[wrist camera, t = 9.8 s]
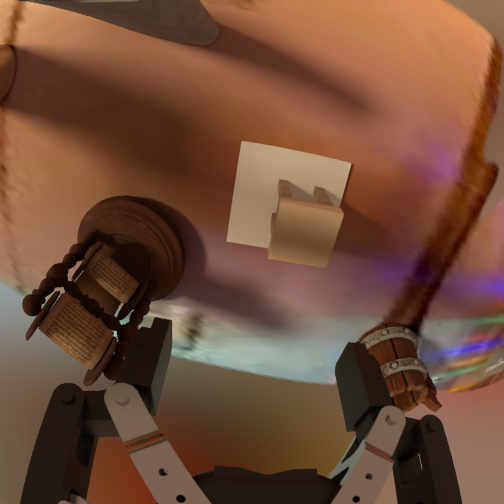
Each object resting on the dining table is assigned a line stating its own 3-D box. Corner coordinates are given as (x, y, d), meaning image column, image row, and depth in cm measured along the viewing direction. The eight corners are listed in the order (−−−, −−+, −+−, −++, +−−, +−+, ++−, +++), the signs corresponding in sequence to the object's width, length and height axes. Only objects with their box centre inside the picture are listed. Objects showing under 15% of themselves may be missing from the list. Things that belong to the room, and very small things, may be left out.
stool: (276, 175, 32) (280, 201, 25) (326, 185, 32) (344, 214, 25) (267, 222, 34) (267, 258, 27) (314, 230, 35) (326, 268, 28)
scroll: (71, 242, 37) (-13, 337, 20) (124, 167, 32) (9, 253, 14) (145, 307, 42) (97, 422, 25) (212, 249, 37) (173, 386, 20)
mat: (226, 239, 36) (226, 241, 36) (241, 140, 30) (241, 141, 30) (323, 255, 37) (323, 257, 36) (350, 162, 31) (351, 163, 30)
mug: (371, 311, 41) (415, 395, 28) (427, 320, 45) (468, 386, 33) (331, 361, 46) (359, 439, 34) (389, 363, 51) (419, 426, 38)
